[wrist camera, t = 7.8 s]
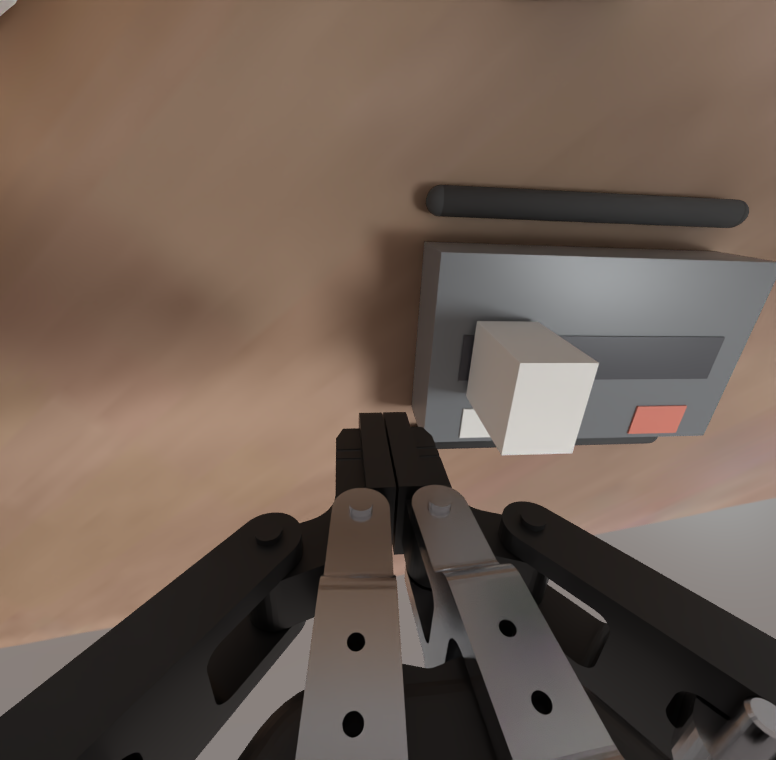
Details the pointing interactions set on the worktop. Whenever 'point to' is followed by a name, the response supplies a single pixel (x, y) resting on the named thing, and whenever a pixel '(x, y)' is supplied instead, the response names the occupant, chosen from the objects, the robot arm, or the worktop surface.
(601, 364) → the breaker panel
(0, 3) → the skeletal toy car
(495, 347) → the handle
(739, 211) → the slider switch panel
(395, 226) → the worktop surface
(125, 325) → the worktop surface
